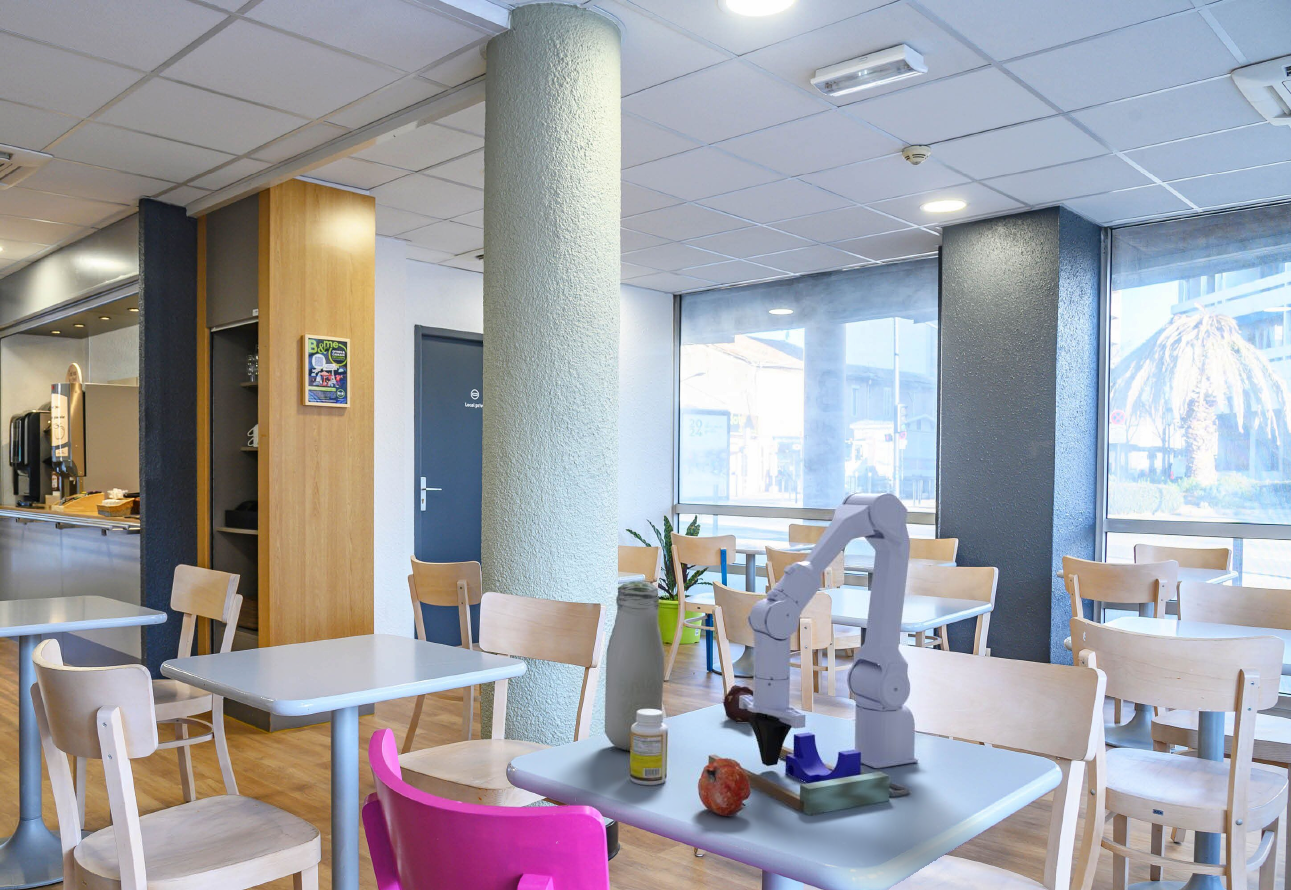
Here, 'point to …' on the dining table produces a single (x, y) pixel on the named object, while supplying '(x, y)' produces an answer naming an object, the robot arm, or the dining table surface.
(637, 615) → the glass bottle
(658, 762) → the supplement bottle
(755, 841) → the dining table surface
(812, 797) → the guide lane
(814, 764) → the cable clip
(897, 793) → the cord loop
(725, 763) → the pomegranate
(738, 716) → the icecream
